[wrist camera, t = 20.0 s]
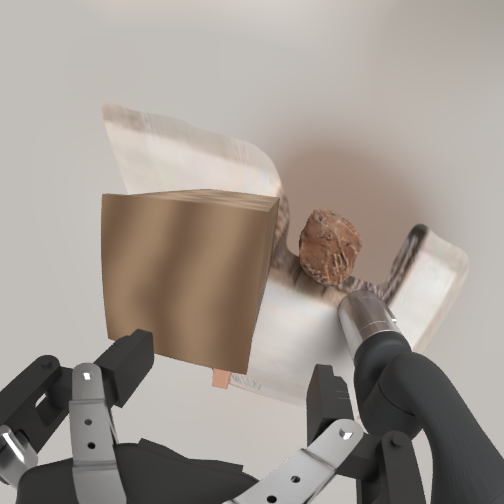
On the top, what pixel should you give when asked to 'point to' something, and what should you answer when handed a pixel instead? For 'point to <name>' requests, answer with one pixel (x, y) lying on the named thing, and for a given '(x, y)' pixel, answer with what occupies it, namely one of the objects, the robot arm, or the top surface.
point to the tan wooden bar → (221, 378)
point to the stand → (188, 271)
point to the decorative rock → (328, 247)
